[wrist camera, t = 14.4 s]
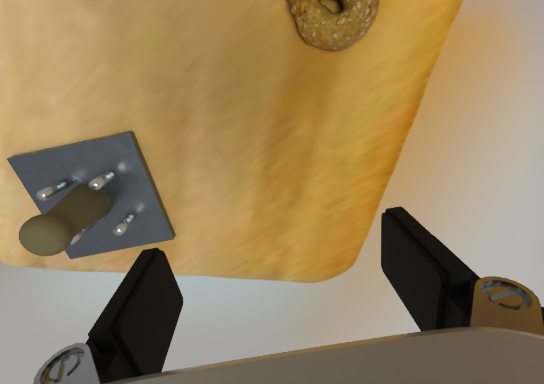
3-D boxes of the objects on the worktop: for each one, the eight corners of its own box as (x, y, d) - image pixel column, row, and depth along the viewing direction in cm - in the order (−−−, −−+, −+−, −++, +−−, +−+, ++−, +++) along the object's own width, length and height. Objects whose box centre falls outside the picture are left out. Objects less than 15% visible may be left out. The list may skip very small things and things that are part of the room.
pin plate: (13, 156, 38) (-21, 167, 34) (132, 131, 38) (115, 139, 33) (74, 254, 46) (53, 275, 41) (175, 235, 45) (165, 254, 40)
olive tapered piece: (119, 201, 41) (74, 243, 31) (97, 225, 42) (47, 272, 32) (84, 175, 39) (23, 210, 29) (62, 201, 40) (-3, 243, 30)
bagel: (321, -71, 30) (331, -96, 26) (386, -1, 33) (406, -12, 29) (269, 11, 33) (270, 2, 29) (333, 69, 36) (344, 68, 32)
